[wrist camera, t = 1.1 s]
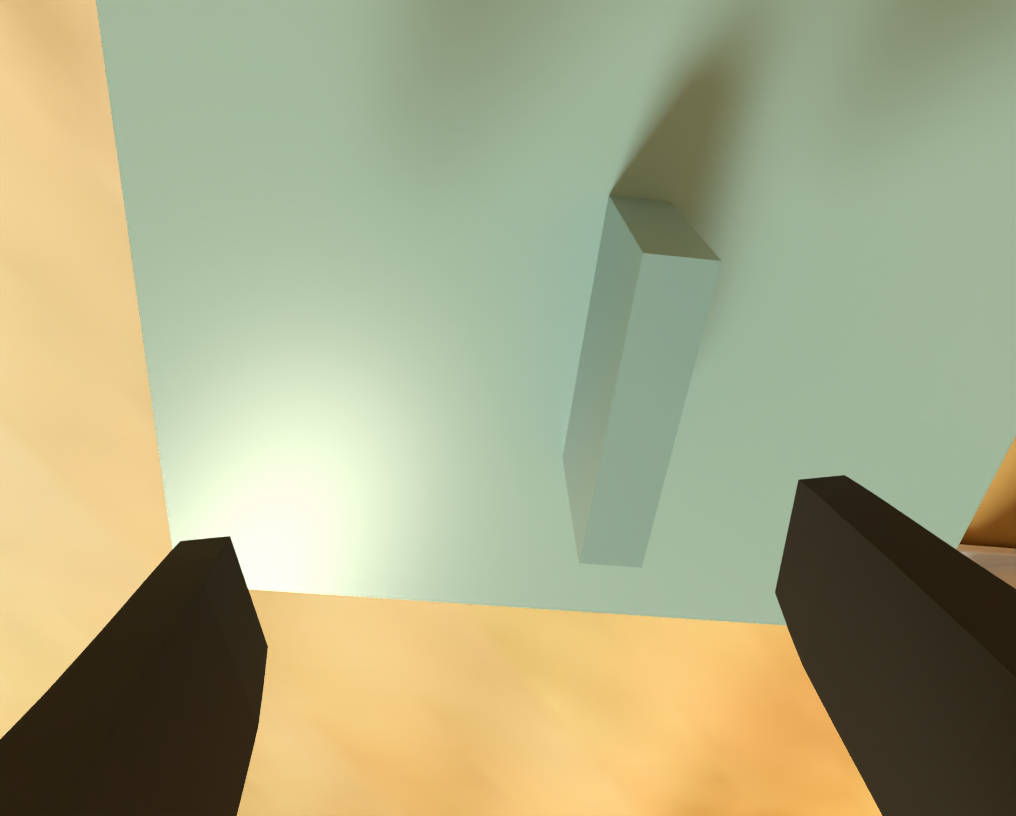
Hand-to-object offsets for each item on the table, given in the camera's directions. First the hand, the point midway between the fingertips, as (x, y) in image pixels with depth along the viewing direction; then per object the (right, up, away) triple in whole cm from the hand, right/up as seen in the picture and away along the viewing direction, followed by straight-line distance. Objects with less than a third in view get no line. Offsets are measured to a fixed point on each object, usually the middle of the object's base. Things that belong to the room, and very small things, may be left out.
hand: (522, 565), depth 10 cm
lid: (+2, +4, +8) cm, 9 cm away
